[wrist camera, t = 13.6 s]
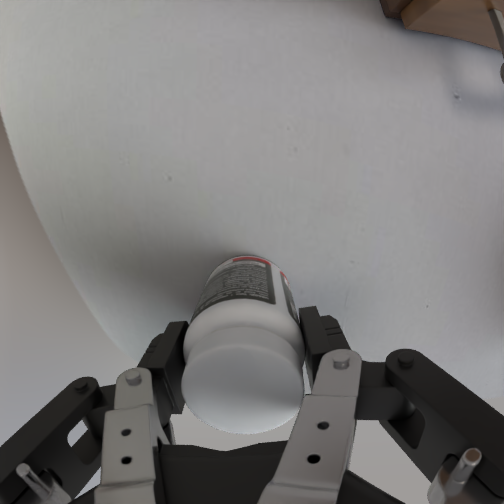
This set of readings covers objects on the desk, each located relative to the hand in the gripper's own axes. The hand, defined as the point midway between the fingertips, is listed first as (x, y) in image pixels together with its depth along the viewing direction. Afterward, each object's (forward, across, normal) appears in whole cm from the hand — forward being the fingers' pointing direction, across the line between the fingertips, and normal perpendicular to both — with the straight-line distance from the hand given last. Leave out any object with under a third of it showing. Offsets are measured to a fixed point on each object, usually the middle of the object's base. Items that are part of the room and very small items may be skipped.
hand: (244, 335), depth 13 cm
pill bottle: (+5, 0, 0) cm, 5 cm away
